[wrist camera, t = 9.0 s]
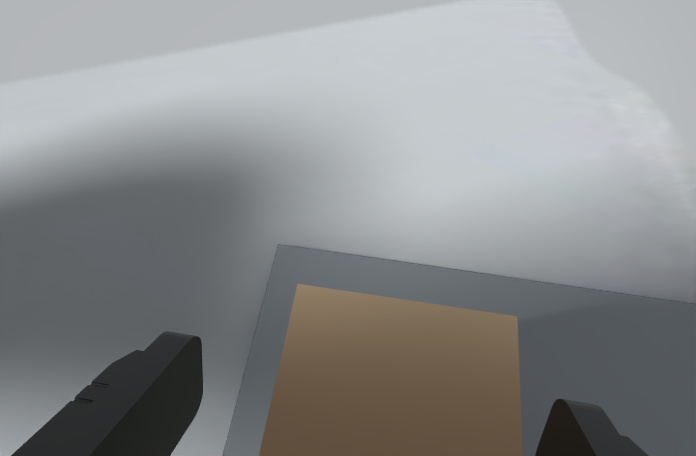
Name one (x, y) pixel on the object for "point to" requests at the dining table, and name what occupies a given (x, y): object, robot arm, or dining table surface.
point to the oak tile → (394, 379)
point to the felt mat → (533, 340)
